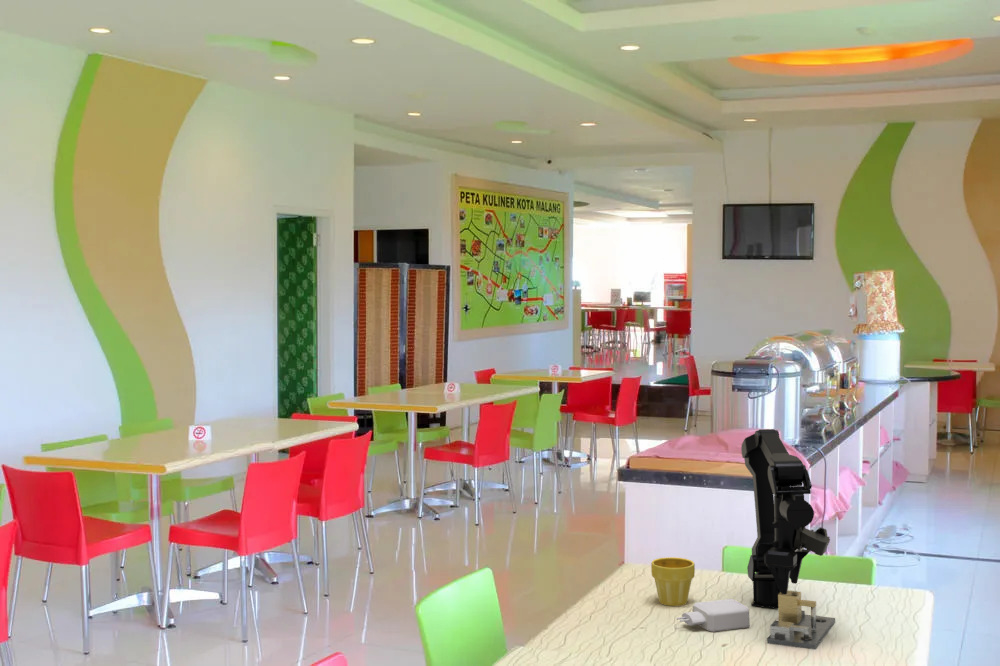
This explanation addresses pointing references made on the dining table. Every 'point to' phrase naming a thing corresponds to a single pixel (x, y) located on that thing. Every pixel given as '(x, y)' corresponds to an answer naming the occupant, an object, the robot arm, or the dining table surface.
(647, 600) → the dining table surface
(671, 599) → the plant pot
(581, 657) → the dining table surface
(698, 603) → the charger
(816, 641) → the dividers base
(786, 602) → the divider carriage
